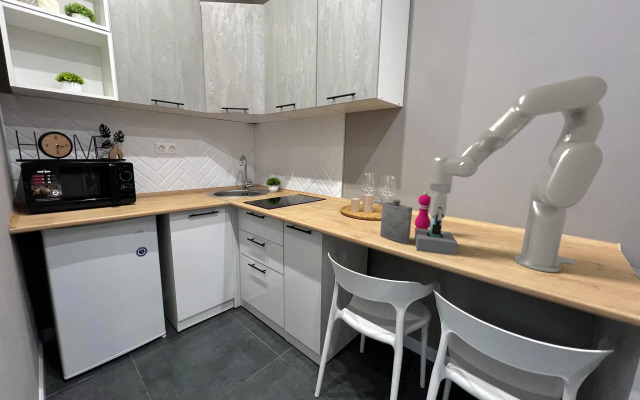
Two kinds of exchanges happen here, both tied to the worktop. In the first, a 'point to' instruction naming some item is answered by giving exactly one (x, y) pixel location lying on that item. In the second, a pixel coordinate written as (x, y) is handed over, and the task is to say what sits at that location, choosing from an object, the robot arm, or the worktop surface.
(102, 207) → the worktop surface
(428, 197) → the pepper mill
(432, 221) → the peg
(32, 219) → the worktop surface
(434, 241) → the socket block
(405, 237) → the flask
